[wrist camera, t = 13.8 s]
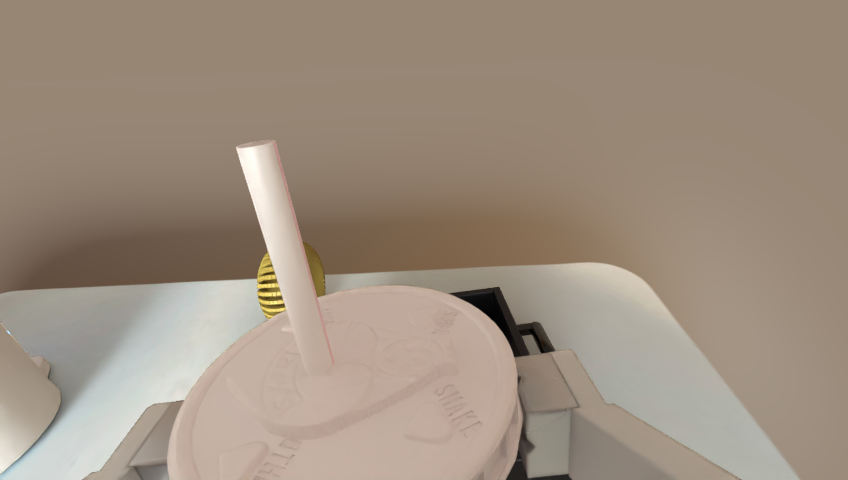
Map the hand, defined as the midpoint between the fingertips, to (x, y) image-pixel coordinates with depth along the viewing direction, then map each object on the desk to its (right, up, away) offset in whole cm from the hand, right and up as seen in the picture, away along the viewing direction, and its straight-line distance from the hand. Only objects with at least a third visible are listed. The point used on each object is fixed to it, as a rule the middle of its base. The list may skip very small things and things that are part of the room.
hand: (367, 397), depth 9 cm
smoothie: (+1, -8, +2) cm, 8 cm away
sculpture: (-10, -4, +28) cm, 30 cm away
